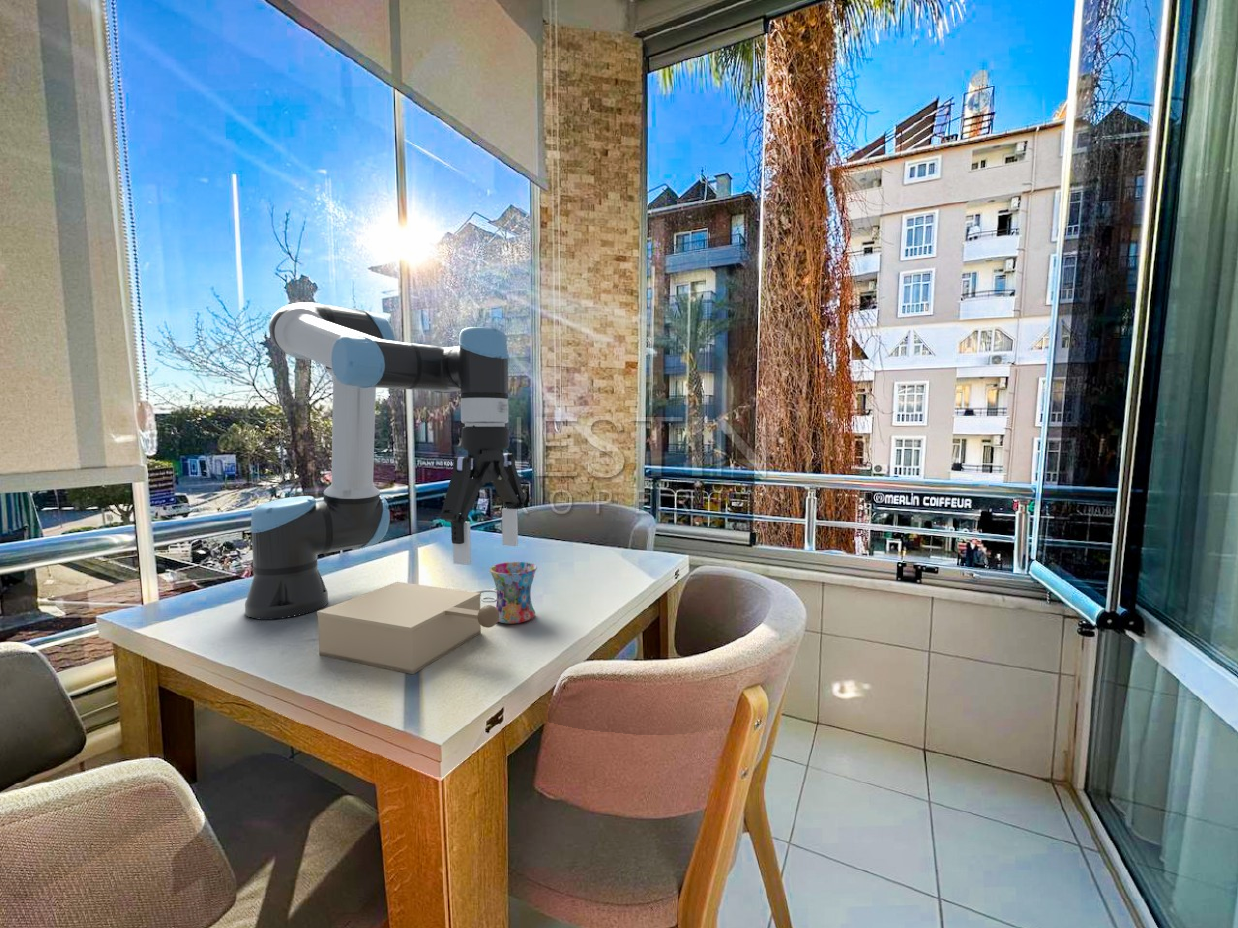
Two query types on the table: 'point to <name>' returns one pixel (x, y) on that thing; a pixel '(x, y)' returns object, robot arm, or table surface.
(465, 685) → the table surface
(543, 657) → the table surface
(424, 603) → the lid
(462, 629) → the box
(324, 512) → the robot arm
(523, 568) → the mug
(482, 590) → the scissors
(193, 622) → the table surface
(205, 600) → the table surface
